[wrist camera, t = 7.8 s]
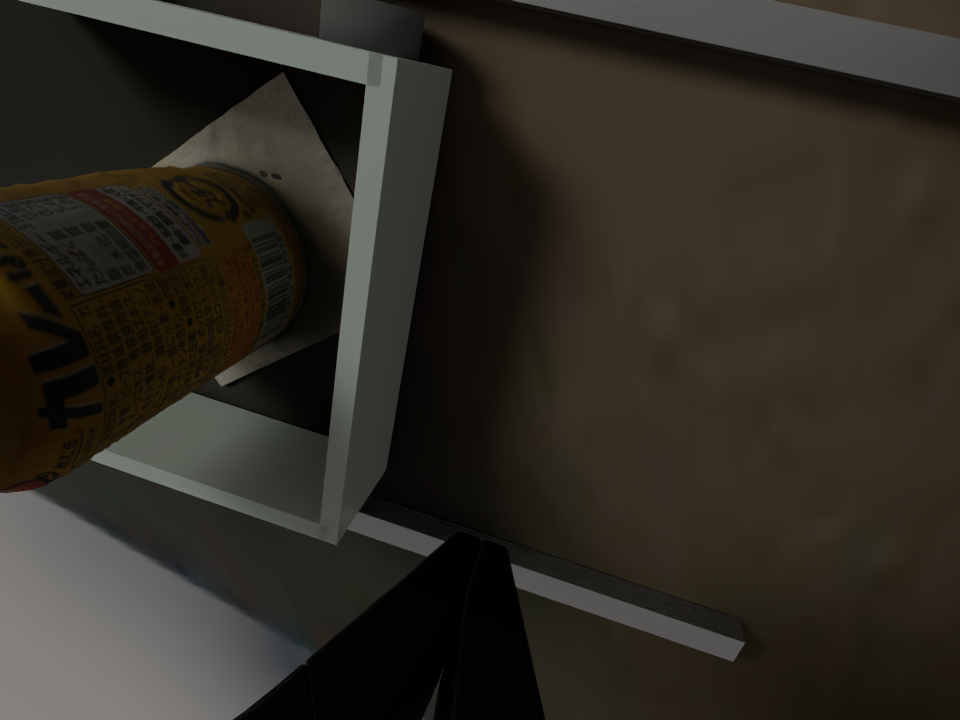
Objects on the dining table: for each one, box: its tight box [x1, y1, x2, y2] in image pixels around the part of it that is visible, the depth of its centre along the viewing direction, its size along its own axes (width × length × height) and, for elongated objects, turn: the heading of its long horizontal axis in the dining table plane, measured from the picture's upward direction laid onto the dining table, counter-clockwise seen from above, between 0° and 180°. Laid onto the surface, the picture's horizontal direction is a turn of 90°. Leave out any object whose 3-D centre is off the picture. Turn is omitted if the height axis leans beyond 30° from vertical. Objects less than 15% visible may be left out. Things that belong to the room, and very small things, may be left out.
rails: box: [347, 0, 960, 661], centre depth 18 cm, size 28×19×1 cm, turn 78°
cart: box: [20, 0, 453, 545], centre depth 17 cm, size 12×15×4 cm
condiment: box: [0, 72, 354, 493], centre depth 13 cm, size 7×8×12 cm
